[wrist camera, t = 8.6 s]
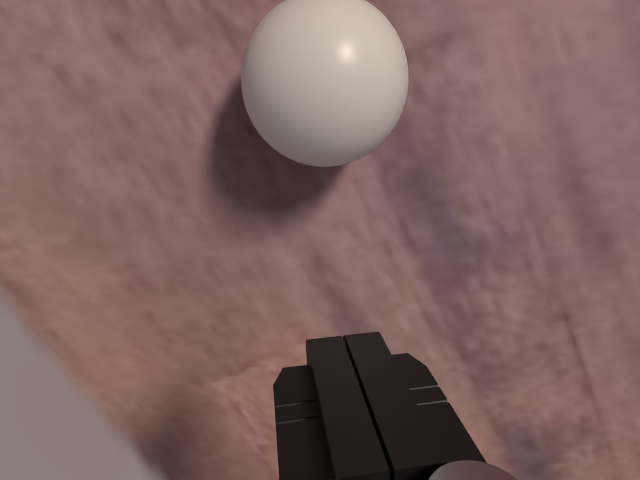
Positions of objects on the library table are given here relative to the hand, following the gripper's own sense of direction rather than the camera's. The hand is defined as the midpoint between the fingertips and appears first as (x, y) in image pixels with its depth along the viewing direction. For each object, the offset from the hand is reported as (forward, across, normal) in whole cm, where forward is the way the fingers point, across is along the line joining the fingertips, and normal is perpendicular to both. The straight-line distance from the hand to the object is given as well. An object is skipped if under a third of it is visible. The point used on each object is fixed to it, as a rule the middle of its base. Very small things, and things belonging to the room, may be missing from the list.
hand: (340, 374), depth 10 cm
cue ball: (+9, -1, -6) cm, 11 cm away
